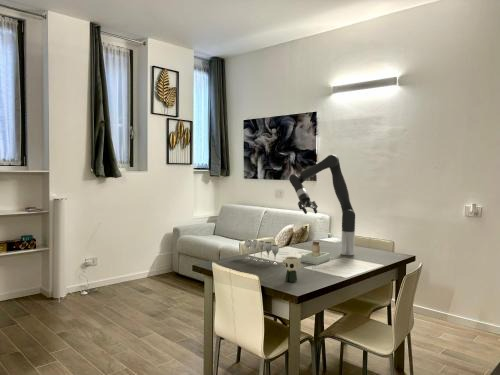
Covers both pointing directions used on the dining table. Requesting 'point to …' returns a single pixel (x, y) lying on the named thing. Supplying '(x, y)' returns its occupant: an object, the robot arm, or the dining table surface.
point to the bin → (315, 258)
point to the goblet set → (261, 247)
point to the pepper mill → (315, 249)
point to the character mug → (291, 268)
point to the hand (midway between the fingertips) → (311, 213)
